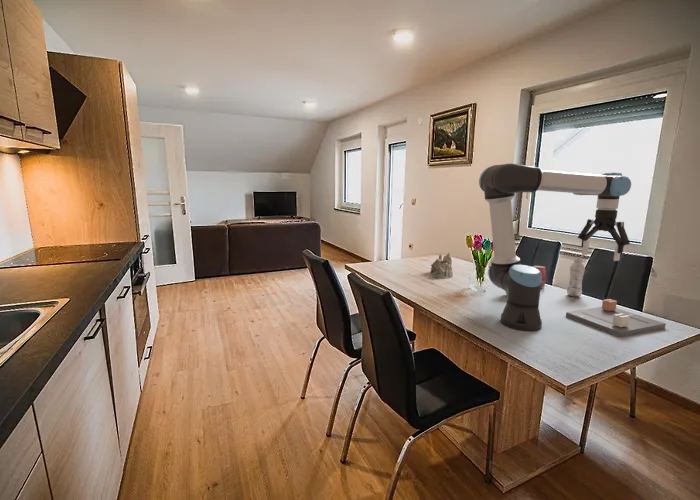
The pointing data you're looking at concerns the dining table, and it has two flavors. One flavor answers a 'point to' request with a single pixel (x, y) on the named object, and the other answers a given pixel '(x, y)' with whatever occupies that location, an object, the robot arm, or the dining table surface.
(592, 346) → the dining table surface
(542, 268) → the soda can
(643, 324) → the fader panel
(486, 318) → the dining table surface
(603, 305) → the terracotta fader
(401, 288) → the dining table surface
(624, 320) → the white fader
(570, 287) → the plastic bottle
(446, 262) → the ceramic cottage
